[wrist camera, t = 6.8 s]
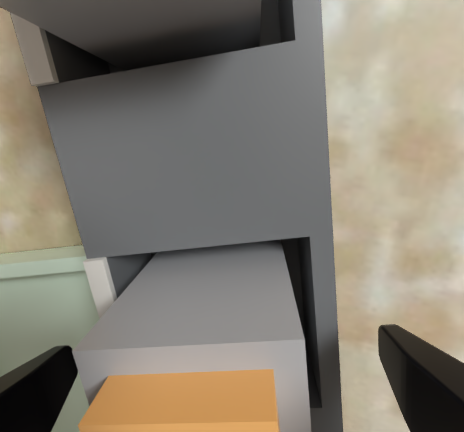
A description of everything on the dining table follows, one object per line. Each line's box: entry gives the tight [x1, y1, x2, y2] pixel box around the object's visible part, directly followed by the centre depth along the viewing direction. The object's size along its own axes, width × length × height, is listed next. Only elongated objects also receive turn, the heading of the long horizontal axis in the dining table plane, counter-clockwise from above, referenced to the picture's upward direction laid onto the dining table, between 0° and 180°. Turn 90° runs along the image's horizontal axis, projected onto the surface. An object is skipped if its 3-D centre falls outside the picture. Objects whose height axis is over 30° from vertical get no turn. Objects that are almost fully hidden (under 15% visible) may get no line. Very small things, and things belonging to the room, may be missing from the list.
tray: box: [0, 245, 99, 432], centre depth 14 cm, size 12×9×2 cm
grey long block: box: [10, 0, 343, 432], centre depth 9 cm, size 22×7×4 cm, turn 8°
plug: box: [72, 239, 311, 432], centre depth 8 cm, size 4×4×7 cm
